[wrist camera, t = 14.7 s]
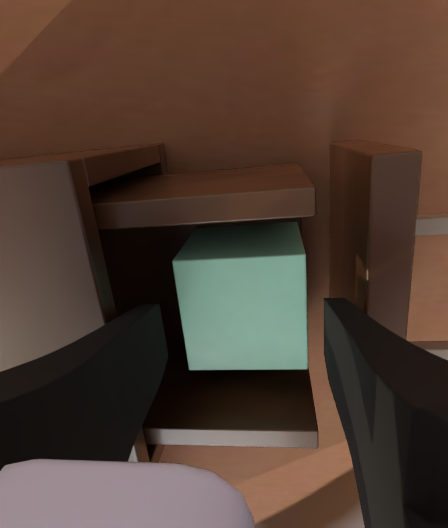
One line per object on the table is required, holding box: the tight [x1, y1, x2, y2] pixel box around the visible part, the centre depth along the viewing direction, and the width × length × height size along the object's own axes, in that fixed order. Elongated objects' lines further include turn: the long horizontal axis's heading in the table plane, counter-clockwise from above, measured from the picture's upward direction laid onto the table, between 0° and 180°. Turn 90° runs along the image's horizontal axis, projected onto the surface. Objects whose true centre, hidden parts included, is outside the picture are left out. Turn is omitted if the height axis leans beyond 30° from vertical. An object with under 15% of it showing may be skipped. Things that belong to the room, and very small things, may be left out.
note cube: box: [172, 222, 308, 370], centre depth 15 cm, size 4×4×4 cm
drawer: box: [88, 140, 448, 448], centre depth 14 cm, size 17×10×7 cm, turn 95°
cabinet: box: [0, 143, 168, 463], centre depth 16 cm, size 14×12×9 cm
